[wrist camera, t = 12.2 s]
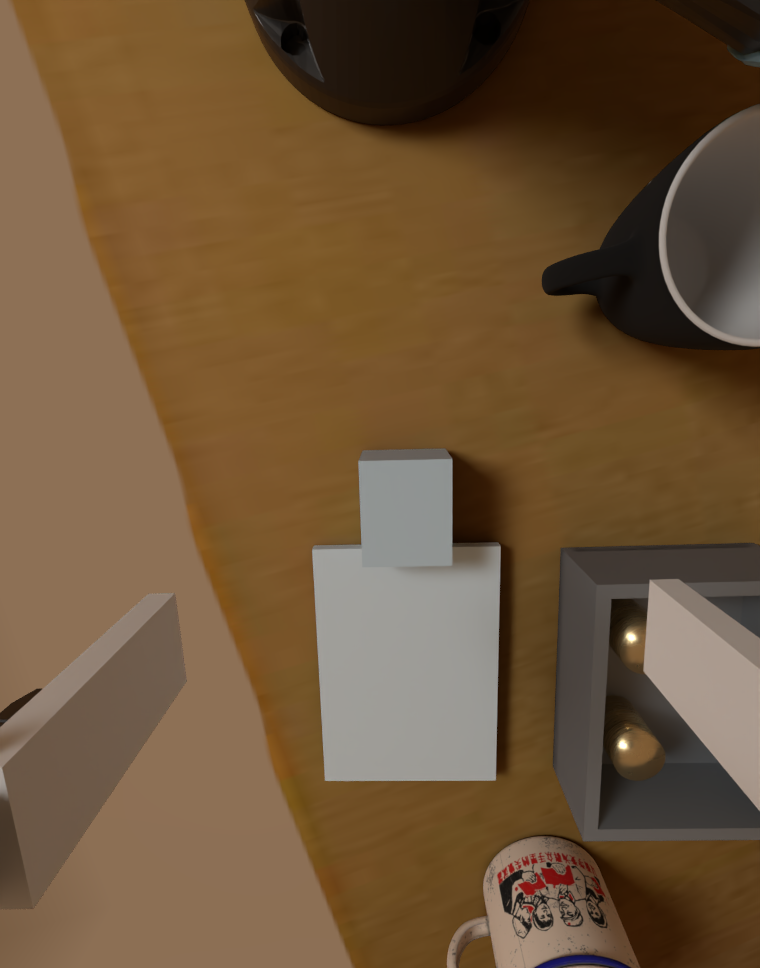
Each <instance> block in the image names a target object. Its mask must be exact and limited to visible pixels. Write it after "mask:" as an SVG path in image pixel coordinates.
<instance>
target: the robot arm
mask: <svg viewBox="0 0 760 968" xmlns="http://www.w3.org/2000/svg"><path fill="white" fill-rule="evenodd" d="M656 1H658V2H659V3H661V4H663V5H664V6H666V7H668V8H669V9H671V10H673V11H675V12H676V13H678V14H680V15H681V16H683V17H684V18H686V19H688V20H689V21H691V22H692V23H694V24H695V25H697V26H699V27H700V28H702V29H703V30H705V31H707V32H708V33H710V34H711V35H713V36H714V37H716V38H718V39H719V40H721V41H722V42H724V43H725V44H727V45H728V47H727V49H728V51H729V52H730V53H731V54H732V55H733V56H734V57H735V58H736V59H738V60H740V61H742V62H743V63H744V64H745V65H750V66H754V67H760V0H656ZM245 2H246V5H247V8H248V10H249V13H250V15H251V18H252V20H253V23H254V25H255V28H256V30H257V33H258V35H259V37H260V39H261V41H262V43H263V45H264V47H265V49H266V51H267V52H268V54H269V56H270V57H271V59H272V60H273V62H274V63H275V65H276V66H277V67H278V69H279V70H280V71H281V73H282V74H283V75H284V76H285V77H286V79H287V80H288V81H289V82H290V83H291V84H292V85H293V86H294V87H295V88H296V89H297V90H298V91H300V92H301V93H302V94H303V95H304V96H306V97H307V98H308V99H310V100H311V101H312V102H314V103H315V104H317V105H318V106H320V107H322V108H323V109H325V110H327V111H329V112H331V113H333V114H336V115H338V116H340V117H343V118H346V119H349V120H352V121H356V122H360V123H366V124H374V125H397V124H405V123H411V122H415V121H419V120H423V119H426V118H429V117H431V116H434V115H436V114H439V113H441V112H443V111H445V110H447V109H448V108H450V107H452V106H454V105H455V104H457V103H458V102H460V101H461V100H463V99H464V98H465V97H467V96H468V95H469V94H471V93H472V92H473V91H474V90H475V89H476V88H478V87H479V86H480V85H481V84H482V83H483V82H484V81H485V80H486V79H487V78H488V76H489V75H490V74H491V73H492V72H493V70H494V69H495V68H496V67H497V65H498V64H499V63H500V61H501V60H502V58H503V57H504V55H505V54H506V52H507V51H508V49H509V47H510V45H511V43H512V42H513V40H514V38H515V36H516V34H517V32H518V29H519V27H520V25H521V22H522V20H523V17H524V14H525V12H526V9H527V6H528V3H529V0H245ZM643 671H644V672H645V674H646V675H647V676H648V677H649V678H650V680H651V681H652V682H653V683H654V685H655V686H656V687H657V688H658V689H659V691H660V692H661V693H662V694H663V695H664V697H665V698H666V699H667V700H668V701H669V703H670V704H671V705H672V706H673V707H674V709H675V710H676V711H677V712H678V713H679V715H680V716H681V717H682V718H683V719H684V721H685V722H686V723H687V724H688V725H689V727H690V728H691V729H692V730H693V731H694V733H695V734H696V735H697V736H698V737H699V739H700V740H701V741H702V742H703V743H704V745H705V746H706V747H707V748H708V749H709V751H710V752H711V753H712V754H713V756H714V757H715V758H716V759H717V760H718V762H719V763H720V764H721V765H722V766H723V768H724V769H725V770H726V771H727V772H728V774H729V775H730V776H731V777H732V778H733V780H734V781H735V782H736V783H737V784H738V786H739V787H740V788H741V789H742V790H743V792H744V793H745V794H746V795H747V796H748V798H749V799H750V800H751V801H752V802H753V804H754V805H755V806H756V807H757V808H758V810H759V811H760V638H759V637H757V636H756V635H755V634H753V633H752V632H750V631H749V630H748V629H746V628H745V627H744V626H742V625H741V624H739V623H738V622H737V621H735V620H734V619H733V618H731V617H730V616H729V615H727V614H726V613H724V612H723V611H722V610H720V609H719V608H718V607H716V606H715V605H713V604H712V603H711V602H709V601H708V600H707V599H705V598H704V597H702V596H701V595H700V594H698V593H697V592H696V591H694V590H693V589H692V588H690V587H689V586H687V585H686V584H685V583H683V582H682V581H681V580H679V579H659V580H650V584H649V598H648V613H647V627H646V641H645V656H644V670H643ZM186 681H187V680H186V672H185V664H184V658H183V650H182V642H181V634H180V627H179V619H178V612H177V604H176V597H175V593H161V594H148V595H147V596H145V597H144V598H143V599H142V600H141V601H140V602H139V603H138V604H137V605H136V606H134V607H133V608H132V609H131V610H130V611H129V612H128V613H127V614H125V615H124V616H123V617H122V618H121V619H120V620H119V621H118V622H117V623H115V624H114V625H113V626H112V627H111V628H110V629H109V630H108V631H107V632H105V633H104V634H103V635H102V636H101V637H100V638H99V639H98V640H97V641H95V642H94V643H93V644H92V645H91V646H90V647H89V648H88V649H87V650H85V651H84V652H83V653H82V654H81V655H80V656H79V657H78V658H77V659H75V660H74V661H73V662H72V663H71V664H70V665H69V666H68V667H67V668H66V669H64V670H63V671H62V672H61V673H60V674H59V675H58V676H57V677H55V678H54V679H53V680H52V681H51V682H50V683H49V684H48V685H47V686H45V687H44V688H43V689H36V690H34V691H32V692H30V693H29V694H27V695H25V696H23V697H22V698H20V699H18V700H16V701H15V702H13V703H11V704H10V705H9V706H8V707H7V708H5V709H4V710H3V711H2V712H1V713H0V909H34V907H35V906H36V904H37V903H38V902H39V900H40V899H41V897H42V896H43V894H44V892H45V891H46V890H47V888H48V887H49V885H50V884H51V882H52V881H53V879H54V878H55V876H56V875H57V873H58V872H59V870H60V869H61V867H62V865H63V864H64V863H65V861H66V860H67V858H68V857H69V855H70V854H71V852H72V851H73V850H74V848H75V846H76V845H77V844H78V842H79V841H80V839H81V838H82V836H83V834H84V833H85V832H86V830H87V829H88V827H89V826H90V824H91V823H92V821H93V820H94V818H95V817H96V815H97V814H98V812H99V811H100V809H101V808H102V806H103V805H104V803H105V802H106V800H107V799H108V797H109V796H110V795H111V793H112V792H113V790H114V789H115V787H116V786H117V784H118V783H119V781H120V780H121V778H122V777H123V775H124V774H125V772H126V771H127V769H128V768H129V766H130V765H131V763H132V762H133V760H134V759H135V757H136V756H137V754H138V753H139V751H140V750H141V748H142V747H143V745H144V744H145V742H146V741H147V739H148V738H149V736H150V735H151V733H152V732H153V731H154V729H155V728H156V726H157V725H158V723H159V722H160V720H161V719H162V717H163V716H164V714H165V713H166V711H167V710H168V708H169V707H170V705H171V704H172V702H173V701H174V699H175V698H176V696H177V695H178V693H179V692H180V690H181V689H182V687H183V686H184V684H185V683H186Z"/></svg>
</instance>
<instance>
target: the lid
mask: <svg viewBox="0 0 760 968" xmlns="http://www.w3.org/2000/svg"><path fill="white" fill-rule="evenodd" d="M359 488H360V516H361V544H362V545H314V547H313V549H312V554H313V572H314V590H315V608H316V626H317V644H318V662H319V680H320V697H321V715H322V733H323V751H324V769H325V781H469V780H496V748H497V701H498V653H499V606H500V559H501V546H500V544H499V543H498V542H487V543H452V458H451V456H450V455H449V453H448V452H447V450H446V449H406V450H363V452H362V454H361V456H360V459H359Z"/></svg>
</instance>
